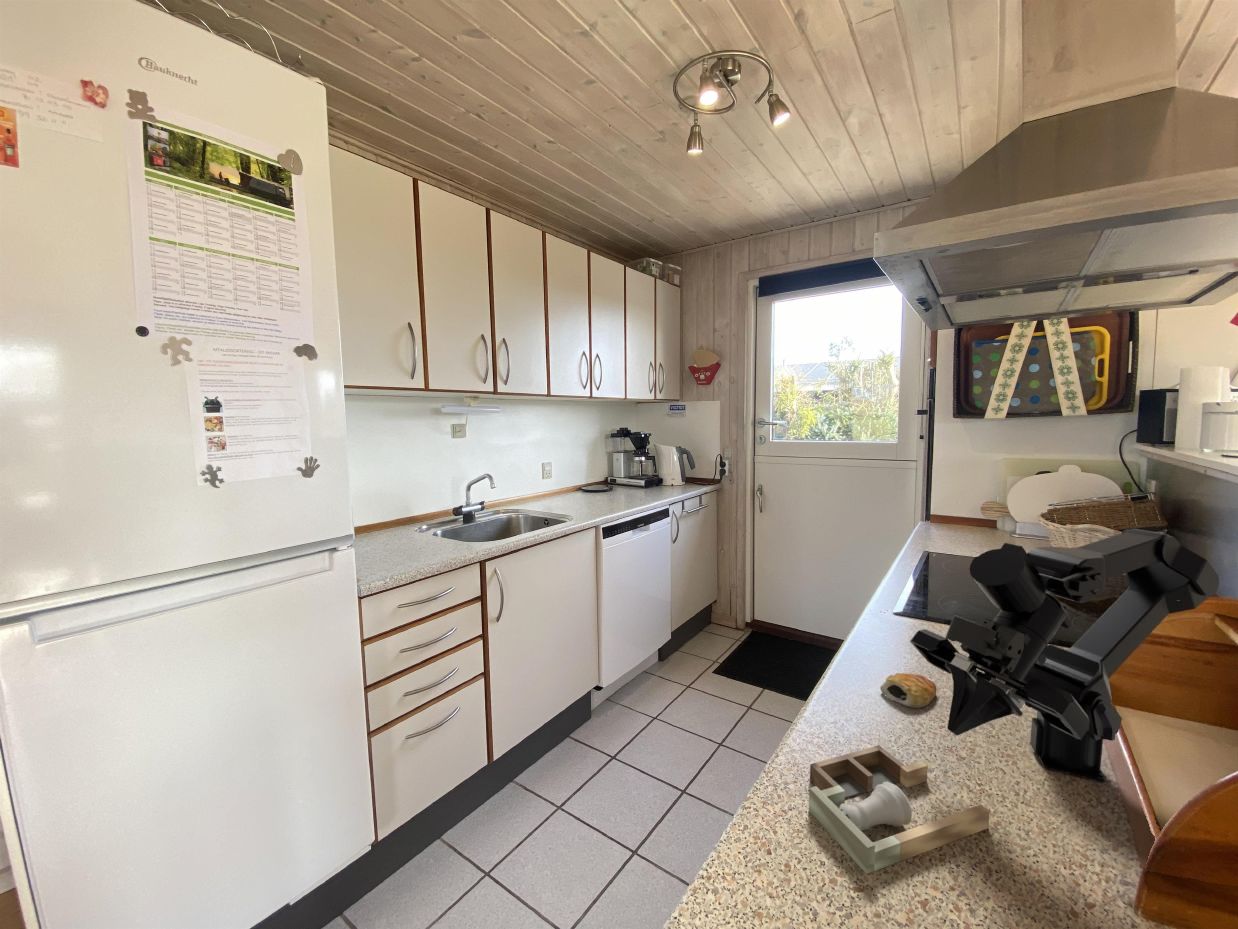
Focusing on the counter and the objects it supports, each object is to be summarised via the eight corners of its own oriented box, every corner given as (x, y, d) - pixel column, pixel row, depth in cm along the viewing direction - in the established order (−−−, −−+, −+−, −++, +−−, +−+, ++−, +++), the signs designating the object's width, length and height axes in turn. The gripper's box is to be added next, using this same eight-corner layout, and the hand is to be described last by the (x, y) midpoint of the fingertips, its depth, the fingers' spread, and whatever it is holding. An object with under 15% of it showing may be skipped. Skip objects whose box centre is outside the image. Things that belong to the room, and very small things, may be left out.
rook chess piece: (878, 778, 63) (824, 797, 60) (903, 782, 59) (846, 803, 57) (894, 820, 61) (838, 841, 59) (920, 827, 57) (862, 850, 55)
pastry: (909, 680, 92) (910, 660, 91) (948, 698, 86) (949, 677, 85) (876, 694, 87) (877, 673, 87) (915, 714, 81) (916, 692, 81)
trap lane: (893, 755, 71) (894, 735, 71) (988, 828, 59) (990, 804, 58) (786, 786, 65) (786, 765, 65) (866, 874, 53) (867, 847, 53)
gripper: (923, 572, 71) (858, 661, 68) (1080, 624, 53) (1000, 745, 51) (961, 618, 74) (900, 704, 71) (1121, 681, 56) (1048, 798, 54)
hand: (951, 732), depth 62 cm, fingers closed
